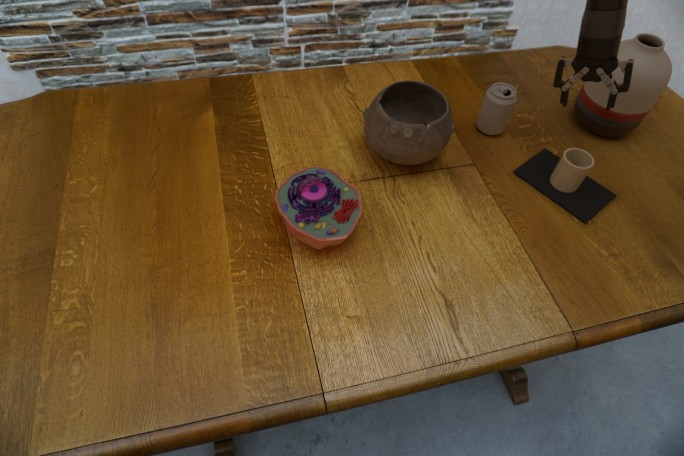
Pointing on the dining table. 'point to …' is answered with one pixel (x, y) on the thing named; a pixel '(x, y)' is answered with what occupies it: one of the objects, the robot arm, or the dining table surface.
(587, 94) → the vase
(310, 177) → the cell model
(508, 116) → the can
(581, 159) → the cup
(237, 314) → the dining table surface
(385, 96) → the clay pot
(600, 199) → the mat
